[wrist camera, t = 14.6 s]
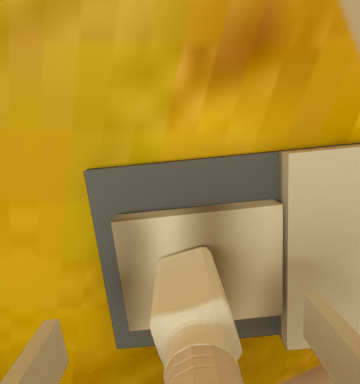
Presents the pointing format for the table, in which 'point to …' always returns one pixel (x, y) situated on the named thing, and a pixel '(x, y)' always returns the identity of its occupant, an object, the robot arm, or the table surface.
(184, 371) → the salt shaker
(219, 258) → the plank
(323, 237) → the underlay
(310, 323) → the robot arm
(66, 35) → the table surface
